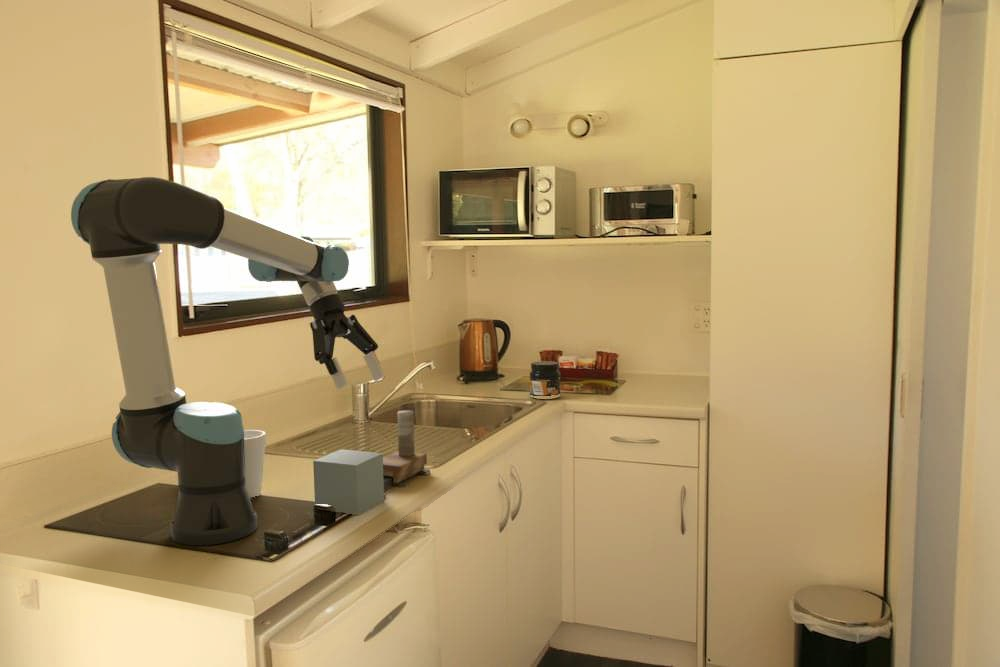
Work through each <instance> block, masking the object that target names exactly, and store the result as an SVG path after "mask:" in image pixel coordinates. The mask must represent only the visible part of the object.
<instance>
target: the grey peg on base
mask: <svg viewBox="0 0 1000 667" xmlns="http://www.w3.org/2000/svg"><path fill="white" fill-rule="evenodd" d="M414 414H415V413H414V410H408V409H407V410H406V409H405V410H404V409H403V410H399V411H397V436H398V437H397V438H398V439H397V443H398V448H397V449H398V451H396V452H394V453H392V454H390V455H388V456H386V457H383V476H392V477H394V483H399V482H400V481H402V480H404V479H406V478H408V477H410V476H412V475H414V474H415V473H417V472H419V471H421V470H423V469H425V465H427V463H428V458H427V453H426V452H425V453H424V452H417V451H416V452H415V424H414V423H415V422H414V421H415V419H414V418H415V417H414V416H415V415H414ZM414 476H415V475H414ZM412 477H413V476H412ZM410 478H411V477H410ZM408 479H409V478H408ZM406 480H407V479H406ZM404 481H405V480H404Z"/></svg>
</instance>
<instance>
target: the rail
mask: <svg viewBox="0 0 1000 667" xmlns="http://www.w3.org/2000/svg"><path fill="white" fill-rule="evenodd" d="M429 472H430V473H431V470H430V469H427V468H424V469H423V470H421V471H419V472H417V473H415V474H416V475H419V474H425V475H424V476H427V475H428V474H427V473H429ZM430 473H429V474H430ZM415 474H414V476H415ZM426 474H427V475H426ZM414 476H413V475H412V477H414ZM412 477H411V476H410V477H408V478H406V479H404V480H402V481H400V482H399V483H394V477H392V476H383V482H384V499H386V495H387V493H385V492H386V491H388V490H389V489H391V488H393V487H399V488H400V487H401V488H406V487H407V486H410V481H409V480H408V479H410V478H412Z"/></svg>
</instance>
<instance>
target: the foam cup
mask: <svg viewBox="0 0 1000 667" xmlns="http://www.w3.org/2000/svg"><path fill="white" fill-rule="evenodd" d="M266 445H267V434H266V431H264V430H260V429H244V453H245V483H246V489H247V492H248V494H249V497H254V498H256V497H255V496H257V497H259V496H260V495H261V494H262V488H263V475H264V474H263V473H264V463H265V453H266Z"/></svg>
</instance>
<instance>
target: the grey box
mask: <svg viewBox="0 0 1000 667" xmlns="http://www.w3.org/2000/svg"><path fill="white" fill-rule="evenodd" d="M383 455H384V453H382V452H375V451H374V452H372V451H361V450H352V449H343V448H342V449H341V448H340V449H339V450H336V451H333V452H331V453H329V454H326V455H324V456H321V457H319V458H316V459H314V460H313V461H312V462H313V463H312V466H313V486H314V490H313V491H314V505H315V504H328V505H333V506H334V507H335V508H336V509H337V511H338V512H345V513H350V514H352V515H351V516H360V515H362V514H363V513H365V512H367V511H369V510H370V509H372V508H374V507H376V506H378V505H380V504H382V503H384V502H385V498H384V493H385V491H384V482H383V458H384V457H383Z"/></svg>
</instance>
